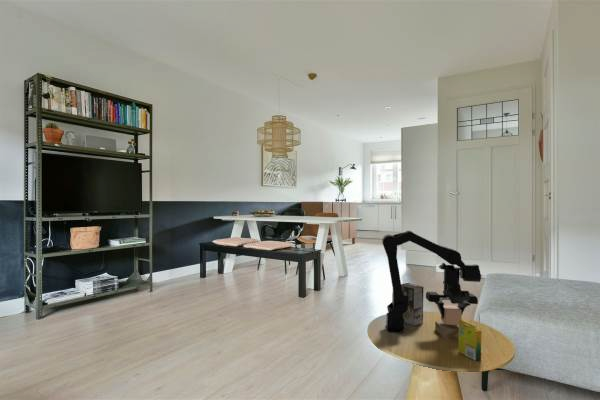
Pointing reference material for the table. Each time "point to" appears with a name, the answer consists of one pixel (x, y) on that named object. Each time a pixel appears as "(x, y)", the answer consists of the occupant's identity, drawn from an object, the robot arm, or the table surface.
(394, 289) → the robot arm
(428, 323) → the table surface
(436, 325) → the walnut block
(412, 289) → the coffee box
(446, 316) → the pink cube
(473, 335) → the crayon box
